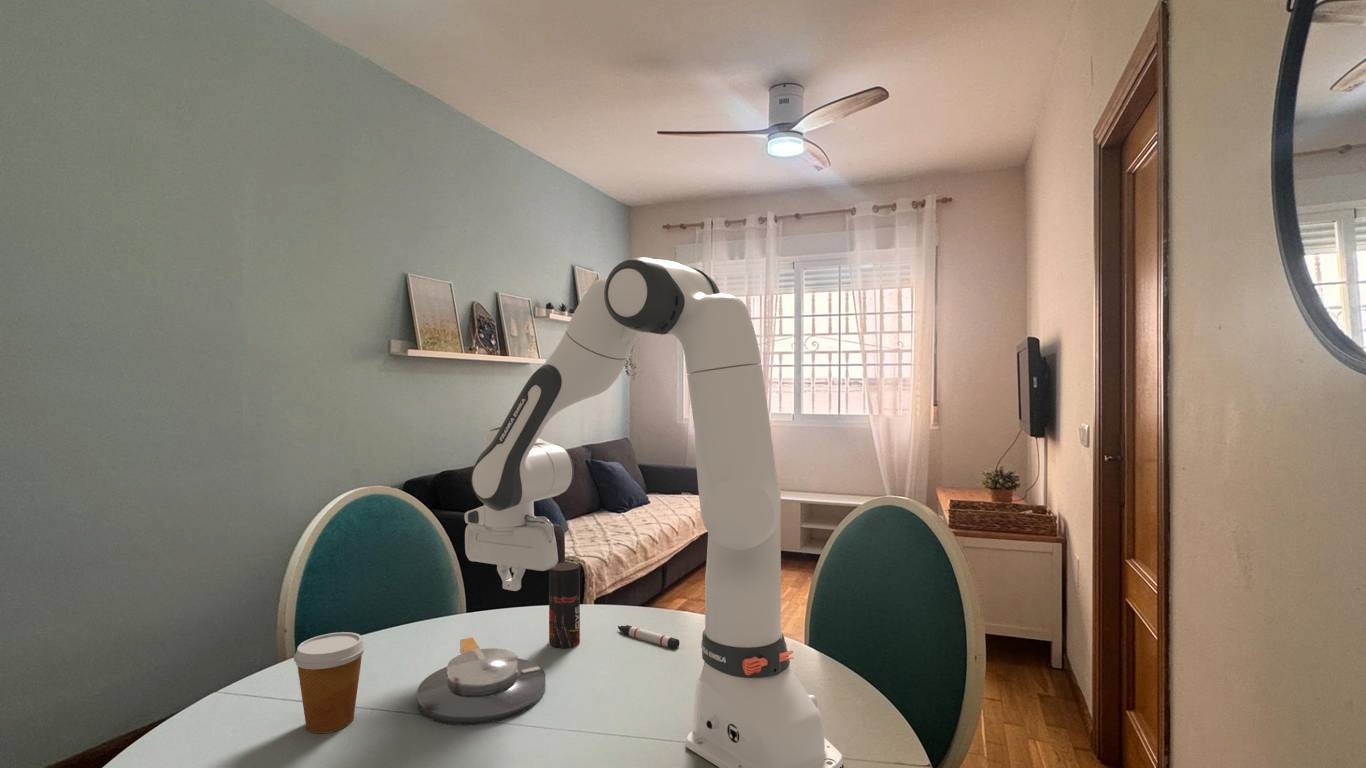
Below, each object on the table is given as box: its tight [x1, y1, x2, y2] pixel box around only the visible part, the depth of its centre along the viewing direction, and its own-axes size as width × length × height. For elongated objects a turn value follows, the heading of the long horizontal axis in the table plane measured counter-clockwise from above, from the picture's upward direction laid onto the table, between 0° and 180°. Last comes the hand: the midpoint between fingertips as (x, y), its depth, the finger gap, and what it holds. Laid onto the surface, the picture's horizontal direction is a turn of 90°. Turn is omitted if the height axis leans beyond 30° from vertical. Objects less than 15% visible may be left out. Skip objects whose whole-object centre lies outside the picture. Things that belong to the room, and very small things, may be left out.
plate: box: [416, 657, 546, 726], centre depth 109 cm, size 20×20×2 cm
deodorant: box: [548, 562, 581, 650], centre depth 130 cm, size 6×6×15 cm
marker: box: [617, 624, 681, 650], centre depth 132 cm, size 15×2×2 cm, turn 53°
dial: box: [446, 637, 519, 696], centre depth 112 cm, size 18×11×3 cm, turn 30°
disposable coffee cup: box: [293, 631, 367, 734], centre depth 99 cm, size 10×10×12 cm
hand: (511, 589), depth 122 cm, fingers closed
